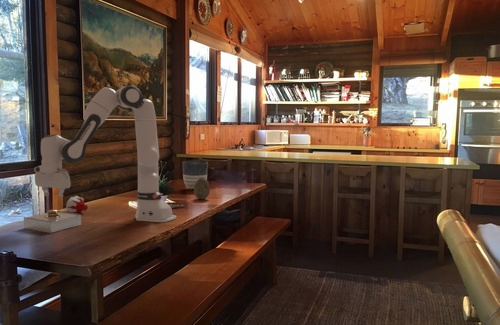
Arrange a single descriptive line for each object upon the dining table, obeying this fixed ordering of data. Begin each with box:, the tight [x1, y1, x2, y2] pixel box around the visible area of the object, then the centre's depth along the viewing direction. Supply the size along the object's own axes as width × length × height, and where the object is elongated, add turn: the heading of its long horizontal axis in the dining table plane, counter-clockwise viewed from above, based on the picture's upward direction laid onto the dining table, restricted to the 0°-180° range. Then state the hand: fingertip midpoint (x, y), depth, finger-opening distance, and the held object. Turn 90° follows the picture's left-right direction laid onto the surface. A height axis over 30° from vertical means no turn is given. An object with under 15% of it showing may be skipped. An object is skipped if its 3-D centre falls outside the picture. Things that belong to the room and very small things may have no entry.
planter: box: [182, 160, 209, 190], centre depth 325 cm, size 20×20×21 cm
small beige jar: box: [47, 209, 59, 218], centre depth 205 cm, size 5×5×8 cm
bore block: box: [23, 210, 82, 234], centre depth 205 cm, size 18×18×5 cm
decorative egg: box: [193, 177, 211, 200], centre depth 284 cm, size 11×11×15 cm
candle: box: [65, 195, 88, 214], centre depth 236 cm, size 9×11×15 cm
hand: (53, 196), depth 204 cm, fingers open, 8 cm apart
